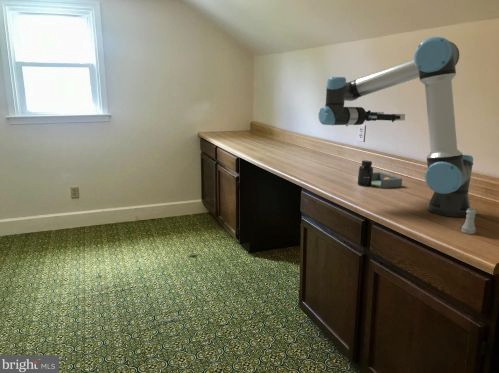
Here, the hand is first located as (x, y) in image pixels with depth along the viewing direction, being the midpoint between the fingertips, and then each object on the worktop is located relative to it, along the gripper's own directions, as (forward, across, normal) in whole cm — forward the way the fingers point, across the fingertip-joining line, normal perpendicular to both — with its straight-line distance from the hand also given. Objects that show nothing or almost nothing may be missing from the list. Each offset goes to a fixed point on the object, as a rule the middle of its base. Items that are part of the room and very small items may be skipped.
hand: (393, 116), depth 182 cm
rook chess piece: (-10, +53, -35) cm, 64 cm away
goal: (+10, -16, -35) cm, 40 cm away
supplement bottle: (+1, -16, -35) cm, 39 cm away
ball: (+9, -12, -34) cm, 37 cm away
